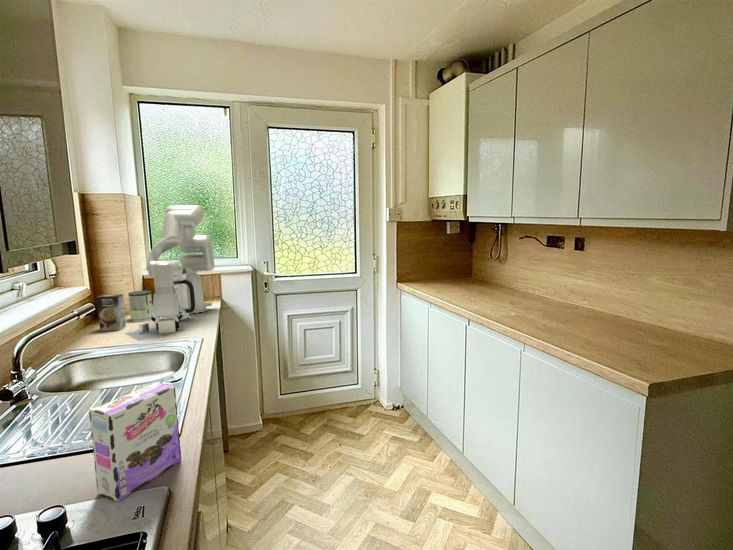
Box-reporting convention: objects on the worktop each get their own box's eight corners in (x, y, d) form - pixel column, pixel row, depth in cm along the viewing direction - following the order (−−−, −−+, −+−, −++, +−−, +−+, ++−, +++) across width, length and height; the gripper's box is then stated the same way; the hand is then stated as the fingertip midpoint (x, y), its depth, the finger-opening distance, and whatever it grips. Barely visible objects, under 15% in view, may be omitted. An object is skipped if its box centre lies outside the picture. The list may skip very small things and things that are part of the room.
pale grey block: (146, 331, 177) (145, 323, 176) (149, 331, 176) (148, 323, 175) (139, 333, 174) (138, 324, 173) (142, 333, 173) (141, 325, 172)
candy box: (117, 503, 71) (107, 415, 68) (96, 494, 73) (86, 409, 71) (182, 460, 83) (176, 384, 81) (163, 454, 85) (156, 380, 83)
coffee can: (130, 318, 208) (127, 291, 206) (153, 315, 213) (150, 289, 211) (130, 322, 199) (128, 294, 197) (154, 319, 204) (151, 292, 202)
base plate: (170, 327, 188) (169, 324, 188) (185, 333, 178) (185, 330, 178) (125, 336, 174) (124, 333, 174) (138, 343, 164) (138, 340, 164)
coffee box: (99, 331, 184) (95, 296, 182) (106, 327, 190) (102, 294, 188) (121, 330, 185) (117, 295, 183) (126, 326, 191) (123, 293, 189)
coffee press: (156, 327, 190) (151, 264, 186) (162, 319, 205) (157, 260, 201) (196, 323, 195) (191, 262, 191) (199, 316, 210) (194, 259, 206)
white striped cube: (177, 328, 181) (176, 316, 181) (175, 331, 175) (174, 320, 175) (161, 329, 179) (160, 318, 179) (158, 333, 173) (157, 321, 173)
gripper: (187, 287, 181) (190, 326, 184) (144, 290, 176) (148, 330, 178) (185, 290, 174) (188, 330, 177) (140, 293, 169) (144, 334, 171)
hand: (168, 330), depth 177 cm, fingers closed on white striped cube, 6 cm apart
